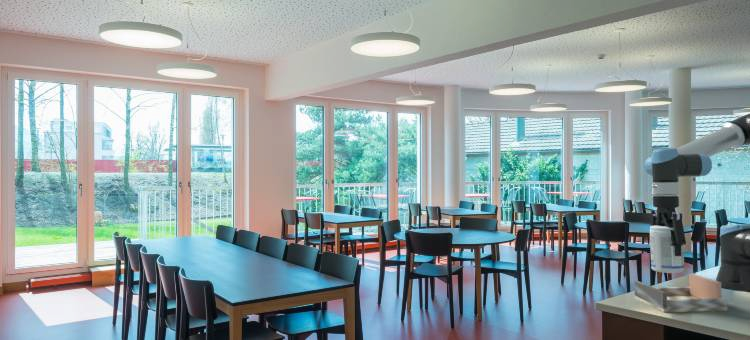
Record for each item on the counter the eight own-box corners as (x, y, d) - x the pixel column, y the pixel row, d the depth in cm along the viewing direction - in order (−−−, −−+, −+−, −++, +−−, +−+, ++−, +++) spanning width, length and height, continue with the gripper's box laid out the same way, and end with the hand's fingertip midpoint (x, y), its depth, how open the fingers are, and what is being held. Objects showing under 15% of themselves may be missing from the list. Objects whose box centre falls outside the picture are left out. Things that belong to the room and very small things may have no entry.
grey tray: (692, 296, 179) (691, 279, 179) (727, 310, 161) (726, 291, 161) (634, 298, 178) (634, 281, 178) (663, 312, 161) (663, 293, 161)
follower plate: (694, 294, 177) (693, 273, 177) (721, 304, 163) (721, 282, 163) (689, 294, 177) (689, 273, 177) (717, 304, 163) (716, 282, 163)
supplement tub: (690, 271, 168) (689, 226, 168) (675, 275, 163) (674, 228, 163) (660, 267, 176) (659, 224, 176) (644, 270, 171) (643, 226, 171)
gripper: (636, 194, 181) (638, 257, 181) (674, 197, 159) (675, 269, 159) (658, 193, 181) (659, 257, 181) (698, 196, 159) (700, 269, 159)
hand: (667, 263), depth 170 cm, fingers closed on supplement tub, 9 cm apart
